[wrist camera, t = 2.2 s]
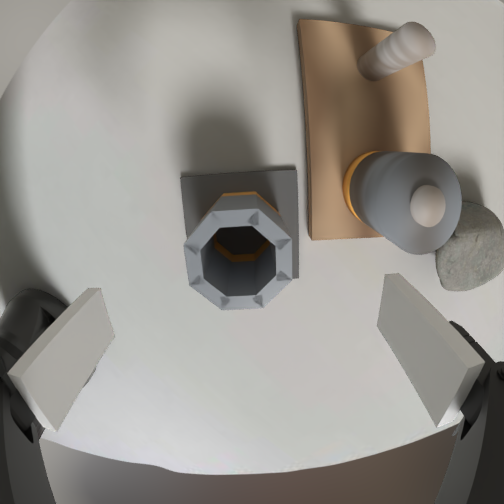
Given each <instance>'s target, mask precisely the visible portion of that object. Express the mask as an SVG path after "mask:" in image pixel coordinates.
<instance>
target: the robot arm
mask: <svg viewBox="0 0 504 504" xmlns="http://www.w3.org/2000/svg"><path fill="white" fill-rule="evenodd" d="M377 327H378V328H379V330H380V332H381V333H382V335H383V336H384V338H385V339H386V341H387V343H388V344H389V346H390V348H391V349H392V351H393V352H394V354H395V356H396V357H397V359H398V361H399V362H400V364H401V366H402V367H403V369H404V371H405V372H406V374H407V376H408V377H409V379H410V381H411V383H412V384H413V386H414V388H415V390H416V391H417V393H418V395H419V397H420V398H421V400H422V402H423V404H424V406H425V407H426V409H427V411H428V413H429V415H430V417H431V418H432V420H433V422H434V424H435V426H436V428H437V427H439V426H442V425H445V424H447V423H450V422H452V421H454V419H455V417H456V416H457V414H458V413H459V411H460V410H461V412H462V413H463V415H464V417H463V419H462V420H461V422H460V423H459V425H458V426H457V428H456V429H455V431H454V432H453V434H452V436H455V435H456V433H457V432H458V435H457V439H456V442H455V446H454V450H453V453H452V456H451V459H450V463H449V466H448V469H447V472H446V475H445V477H444V480H443V483H442V485H441V488H440V491H439V493H438V496H437V498H436V500H435V503H434V504H504V362H501V361H500V362H497V363H495V362H494V360H493V359H492V358H491V357H490V356H489V355H488V354H487V353H486V352H485V350H484V349H483V348H482V347H481V346H480V345H479V344H478V343H477V342H475V340H474V339H473V338H472V337H471V336H469V333H468V332H467V331H466V330H465V329H464V328H463V327H462V326H460V325H458V324H456V323H455V322H453V321H449V322H448V321H447V320H446V319H445V318H444V316H443V315H442V314H441V313H440V312H439V311H438V310H437V309H436V308H435V307H434V306H433V305H432V304H431V303H430V302H429V301H428V300H427V299H426V298H425V297H424V296H423V295H422V294H420V293H419V292H418V291H417V290H416V289H415V288H414V287H413V286H412V285H411V284H410V283H409V282H408V281H407V280H406V279H405V278H404V277H403V276H402V275H400V274H399V273H396V274H385V277H384V285H383V292H382V299H381V305H380V311H379V317H378V322H377ZM114 337H115V334H114V331H113V328H112V325H111V322H110V319H109V315H108V312H107V309H106V306H105V302H104V299H103V295H102V292H101V288H88V289H87V290H86V291H84V292H83V293H82V294H81V295H80V296H79V297H78V298H77V299H76V300H75V301H74V302H73V303H72V304H71V305H70V306H69V307H68V308H67V307H66V306H65V305H64V304H63V303H61V302H60V301H59V300H58V299H56V298H55V297H53V296H51V295H50V294H48V293H46V292H43V291H40V290H36V289H27V290H24V291H22V292H20V293H19V294H18V295H16V296H15V297H14V298H13V299H12V300H11V301H10V302H9V303H8V305H7V307H6V309H5V311H4V312H3V314H2V316H1V318H0V504H56V502H55V500H54V496H53V493H52V490H51V487H50V484H49V481H48V477H47V474H46V470H45V466H44V462H43V458H42V454H41V450H40V445H39V439H40V437H41V435H42V433H43V431H44V430H45V428H46V429H49V430H52V431H55V432H57V431H58V430H59V428H60V426H61V424H62V422H63V421H64V419H65V417H66V415H67V414H68V412H69V410H70V408H71V407H72V405H73V403H74V401H75V400H76V398H77V396H78V395H79V393H80V391H81V390H82V388H83V387H84V386H85V385H86V384H87V383H88V382H89V380H90V378H91V377H92V375H93V373H94V372H95V369H96V365H97V364H98V362H99V360H100V359H101V357H102V356H103V354H104V353H105V351H106V349H107V348H108V346H109V345H110V343H111V342H112V340H113V339H114Z"/></svg>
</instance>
